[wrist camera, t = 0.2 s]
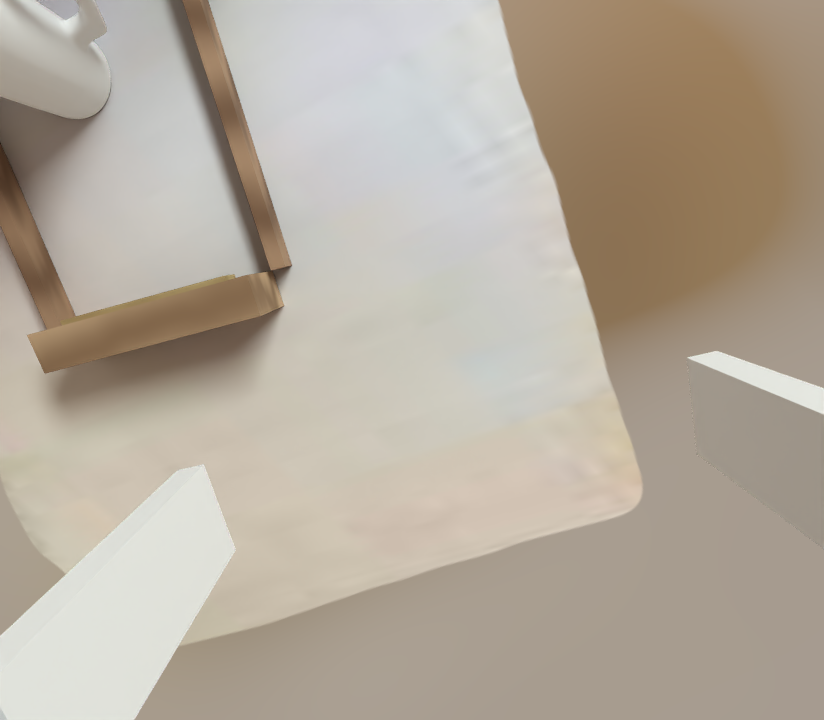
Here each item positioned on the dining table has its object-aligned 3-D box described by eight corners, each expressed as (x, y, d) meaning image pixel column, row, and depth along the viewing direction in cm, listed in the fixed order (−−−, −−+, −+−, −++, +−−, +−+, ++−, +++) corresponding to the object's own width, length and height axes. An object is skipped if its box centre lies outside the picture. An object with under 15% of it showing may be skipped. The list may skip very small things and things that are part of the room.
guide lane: (-71, 17, 35) (-100, 3, 33) (186, -68, 33) (171, -88, 31) (66, 327, 40) (48, 331, 38) (291, 265, 39) (285, 266, 37)
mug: (59, 139, 36) (-109, 88, 25) (8, 51, 35) (-196, -47, 23) (169, 79, 35) (47, -3, 24) (121, -14, 34) (-34, -151, 22)
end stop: (82, 317, 40) (24, 329, 34) (270, 266, 39) (244, 269, 33) (98, 355, 41) (44, 373, 35) (284, 305, 39) (260, 316, 33)
